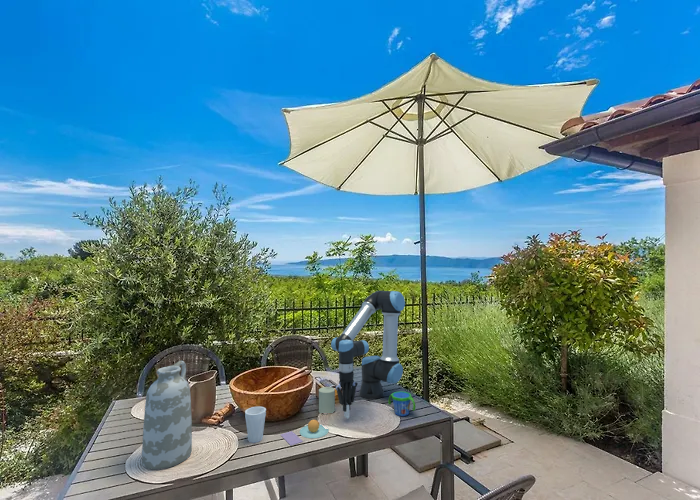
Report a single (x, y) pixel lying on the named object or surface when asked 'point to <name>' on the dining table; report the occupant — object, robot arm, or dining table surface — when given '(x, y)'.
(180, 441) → the vase
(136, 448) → the dining table surface
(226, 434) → the dining table surface
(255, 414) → the foam cup
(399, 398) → the snack cup
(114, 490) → the dining table surface
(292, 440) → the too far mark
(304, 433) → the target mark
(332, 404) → the can
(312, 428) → the ball
